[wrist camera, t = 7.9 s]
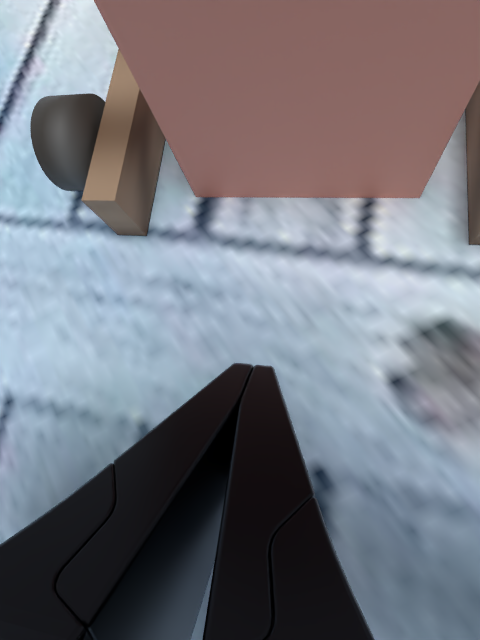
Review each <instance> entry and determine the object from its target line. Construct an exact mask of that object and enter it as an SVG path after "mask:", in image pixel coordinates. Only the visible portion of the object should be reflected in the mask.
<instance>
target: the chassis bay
mask: <svg viewBox="0 0 480 640" xmlns="http://www.w3.org/2000/svg"><path fill="white" fill-rule="evenodd" d="M31 139H32V144H33V148H34V152H35V155H36V157H37V160H38V162H39V164H40V166H41V168H42V170H43V171H44V173H45V174H46V176H47V177H48V178H49V179H50V180H51V181H52V182H53V183H54V184H55V185H56V186H58V187H59V188H61V189H63V190H67V191H84V192H83V196H82V201H83V202H84V203H85V204H86V205H87V206H88V207H89V208H90V209H91V210H92V211H93V212H94V213H95V214H96V215H98V216H99V217H100V218H101V219H102V220H103V221H104V222H105V223H106V224H107V225H108V226H109V227H110V228H111V229H112V230H113V231H115V232H116V233H117V234H118V235H142V236H147V231H148V225H149V220H150V215H151V210H152V205H153V200H154V195H155V189H156V184H157V179H158V174H159V169H160V164H161V159H162V154H163V148H164V143H165V136H164V134H163V132H162V131H161V129H160V127H159V125H158V123H157V121H156V119H155V117H154V115H153V113H152V111H151V109H150V107H149V106H148V104H147V102H146V100H145V98H144V96H143V94H142V92H141V90H140V88H139V86H138V84H137V82H136V81H135V79H134V77H133V75H132V73H131V71H130V69H129V67H128V65H127V63H126V61H125V59H124V57H123V55H122V54H121V52H120V50H119V49H118V54H117V58H116V62H115V66H114V70H113V74H112V78H111V82H110V86H109V90H108V94H107V98H106V102H105V101H104V100H103V99H101V98H100V97H99V96H97V95H95V94H75V95H59V96H46V97H44V98H42V99H41V100H39V101H38V103H37V104H36V106H35V107H34V110H33V113H32V117H31ZM466 141H467V179H468V217H469V244H475V245H480V81H479V83H478V85H477V87H476V89H475V91H474V93H473V95H472V97H471V99H470V100H469V102H468V104H467V106H466Z"/></svg>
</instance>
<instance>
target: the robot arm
mask: <svg viewBox="0 0 480 640" xmlns="http://www.w3.org/2000/svg"><path fill="white" fill-rule="evenodd" d="M214 561H215V563H214ZM213 564H214V569H213V576H212V582H211V589H210V595H209V602H208V608H207V615H206V621H205V628H204V634H203V640H375V639H374V637H373V635H372V633H371V631H370V628H369V626H368V624H367V622H366V620H365V618H364V616H363V613H362V611H361V609H360V607H359V605H358V603H357V601H356V598H355V596H354V594H353V592H352V589H351V587H350V585H349V583H348V580H347V578H346V576H345V573H344V571H343V569H342V566H341V564H340V562H339V559H338V557H337V555H336V552H335V549H334V547H333V544H332V541H331V538H330V536H329V533H328V530H327V527H326V525H325V522H324V519H323V516H322V513H321V510H320V507H319V504H318V501H317V499H316V498H315V493H314V490H313V486H312V483H311V480H310V477H309V474H308V471H307V468H306V465H305V462H304V459H303V456H302V453H301V450H300V447H299V444H298V441H297V438H296V434H295V431H294V428H293V425H292V422H291V419H290V416H289V413H288V410H287V407H286V404H285V401H284V398H283V395H282V392H281V389H280V386H279V382H278V379H277V376H276V373H275V370H274V368H273V367H272V366H263V365H255V366H254V367H253V365H251V364H243V363H234V364H233V365H231V366H230V367H229V368H228V369H226V370H225V371H224V372H223V373H222V374H220V375H219V376H218V377H217V378H215V379H214V380H213V381H212V382H210V383H209V384H208V385H207V386H206V387H204V388H203V389H202V390H201V391H199V392H198V393H197V394H196V395H194V396H193V397H192V398H191V399H189V400H188V401H187V402H186V403H185V404H183V405H182V406H181V407H180V408H178V409H177V410H176V411H175V412H173V413H172V414H171V415H170V416H169V417H167V418H166V419H165V420H164V421H162V422H161V423H160V424H159V425H157V426H156V427H155V428H154V429H152V430H151V431H150V432H149V433H148V434H146V435H145V436H144V437H143V438H141V439H140V440H139V441H138V442H136V443H135V444H134V445H133V446H132V447H130V448H129V449H128V450H127V451H125V452H124V453H123V454H122V455H120V456H119V457H118V458H117V459H116V460H115V461H114V464H112V463H111V464H109V465H108V466H107V467H105V468H104V469H103V470H102V471H100V472H99V473H98V474H97V475H96V476H94V477H93V478H92V479H90V480H89V481H88V482H87V483H85V484H84V485H83V486H81V487H80V488H79V489H78V490H76V491H75V492H74V493H72V494H71V495H70V496H69V497H67V498H66V499H65V500H63V501H62V502H60V503H59V504H58V505H56V506H55V507H53V508H52V509H51V510H49V511H48V512H46V513H45V514H44V515H42V516H41V517H39V518H38V519H37V520H35V521H34V522H32V523H31V524H30V525H28V526H27V527H25V528H24V529H22V530H21V531H19V532H18V533H16V534H15V535H14V536H12V537H11V538H9V539H8V540H6V541H5V542H3V543H2V544H0V640H190V639H191V636H192V633H193V629H194V626H195V623H196V620H197V616H198V613H199V610H200V607H201V603H202V600H203V597H204V594H205V590H206V587H207V584H208V581H209V577H210V574H211V571H212V567H213Z"/></svg>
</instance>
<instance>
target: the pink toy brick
mask: <svg viewBox="0 0 480 640" xmlns="http://www.w3.org/2000/svg"><path fill="white" fill-rule="evenodd" d="M94 2H95V4H96V5H97V7H98V9H99V11H100V13H101V15H102V17H103V19H104V21H105V23H106V25H107V27H108V29H109V30H110V32H111V34H112V36H113V38H114V40H115V42H116V44H117V46H118V48H119V50H120V52H121V54H122V55H123V57H124V59H125V61H126V63H127V65H128V67H129V69H130V71H131V73H132V75H133V77H134V79H135V81H136V82H137V84H138V86H139V88H140V90H141V92H142V94H143V96H144V98H145V100H146V102H147V104H148V106H149V107H150V109H151V111H152V113H153V115H154V117H155V119H156V121H157V123H158V125H159V127H160V129H161V131H162V132H163V134H164V136H165V138H166V140H167V142H168V144H169V146H170V148H171V150H172V152H173V154H174V156H175V158H176V159H177V161H178V163H179V165H180V167H181V169H182V171H183V173H184V175H185V177H186V179H187V181H188V183H189V184H190V186H191V188H192V190H193V192H194V194H195V196H196V197H302V198H420V196H421V194H422V192H423V190H424V188H425V186H426V184H427V183H428V181H429V179H430V177H431V175H432V173H433V171H434V169H435V167H436V165H437V163H438V161H439V159H440V157H441V155H442V153H443V151H444V149H445V147H446V145H447V143H448V142H449V140H450V138H451V136H452V134H453V132H454V130H455V128H456V126H457V124H458V122H459V120H460V118H461V116H462V114H463V112H464V110H465V108H466V106H467V104H468V102H469V100H470V99H471V97H472V95H473V93H474V91H475V89H476V87H477V85H478V83H479V81H480V0H94Z"/></svg>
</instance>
